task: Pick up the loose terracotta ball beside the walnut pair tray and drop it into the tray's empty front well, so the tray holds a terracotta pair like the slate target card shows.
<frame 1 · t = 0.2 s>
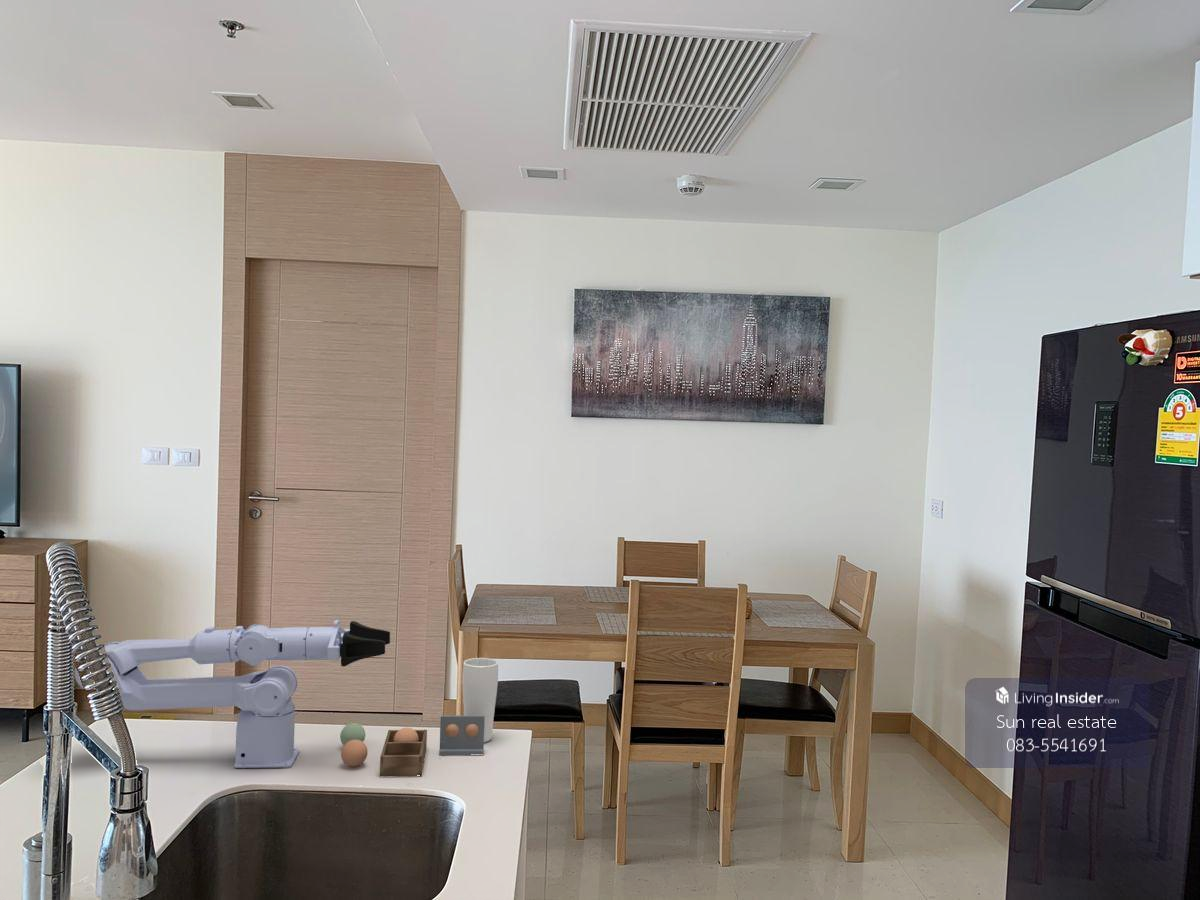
hand: (387, 642, 163), 21 cm above the counter, tool horizontal, fingers open, 7 cm apart
terracotta ball: (354, 753, 160), point 2 cm above the counter
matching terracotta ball: (406, 740, 166), point 3 cm above the counter, touching pair tray
white tall tapered cylinder: (478, 740, 176), on the counter
sage ball: (352, 735, 169), point 2 cm above the counter
target card: (461, 752, 169), on the counter
pair tray: (404, 762, 163), on the counter
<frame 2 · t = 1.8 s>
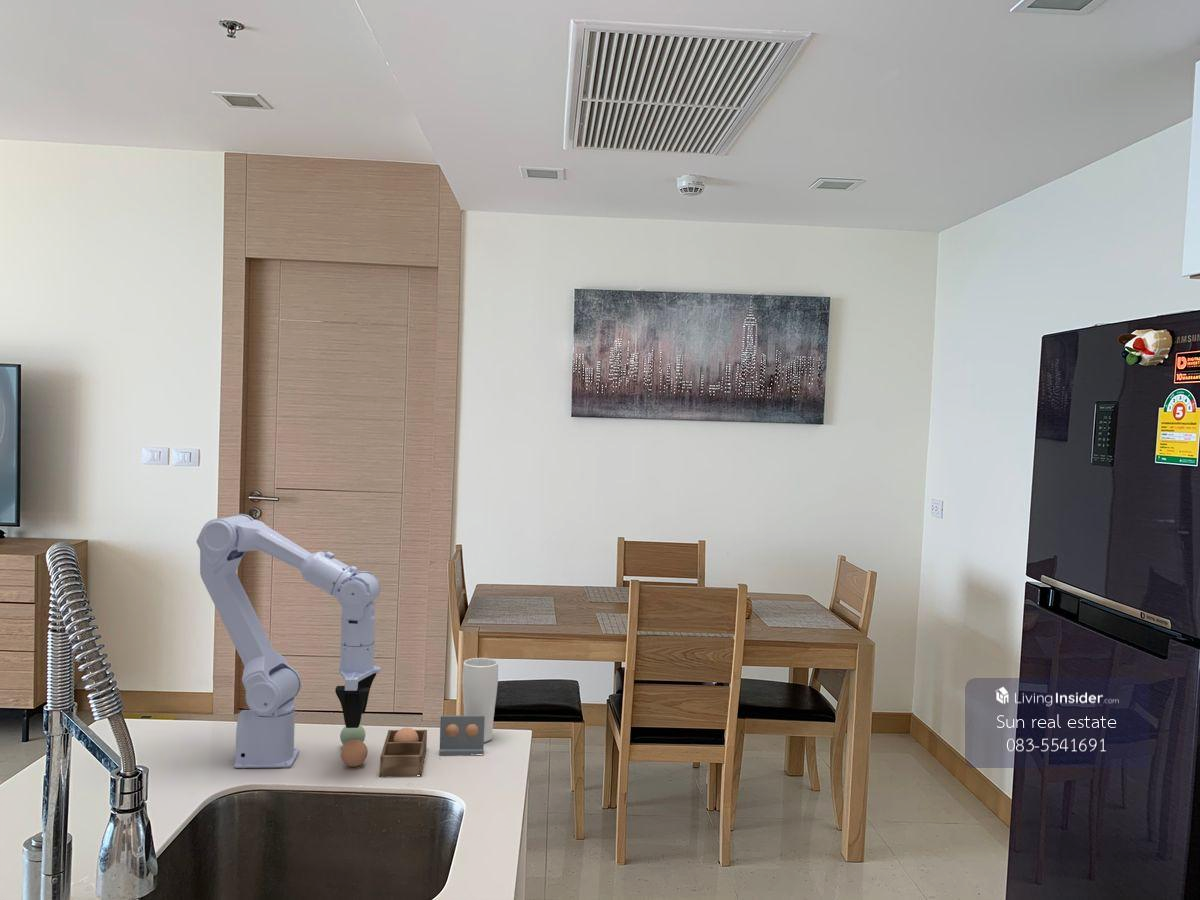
hand: (355, 720, 160), 8 cm above the counter, tool pointing down, fingers open, 7 cm apart
nothing on the counter moved.
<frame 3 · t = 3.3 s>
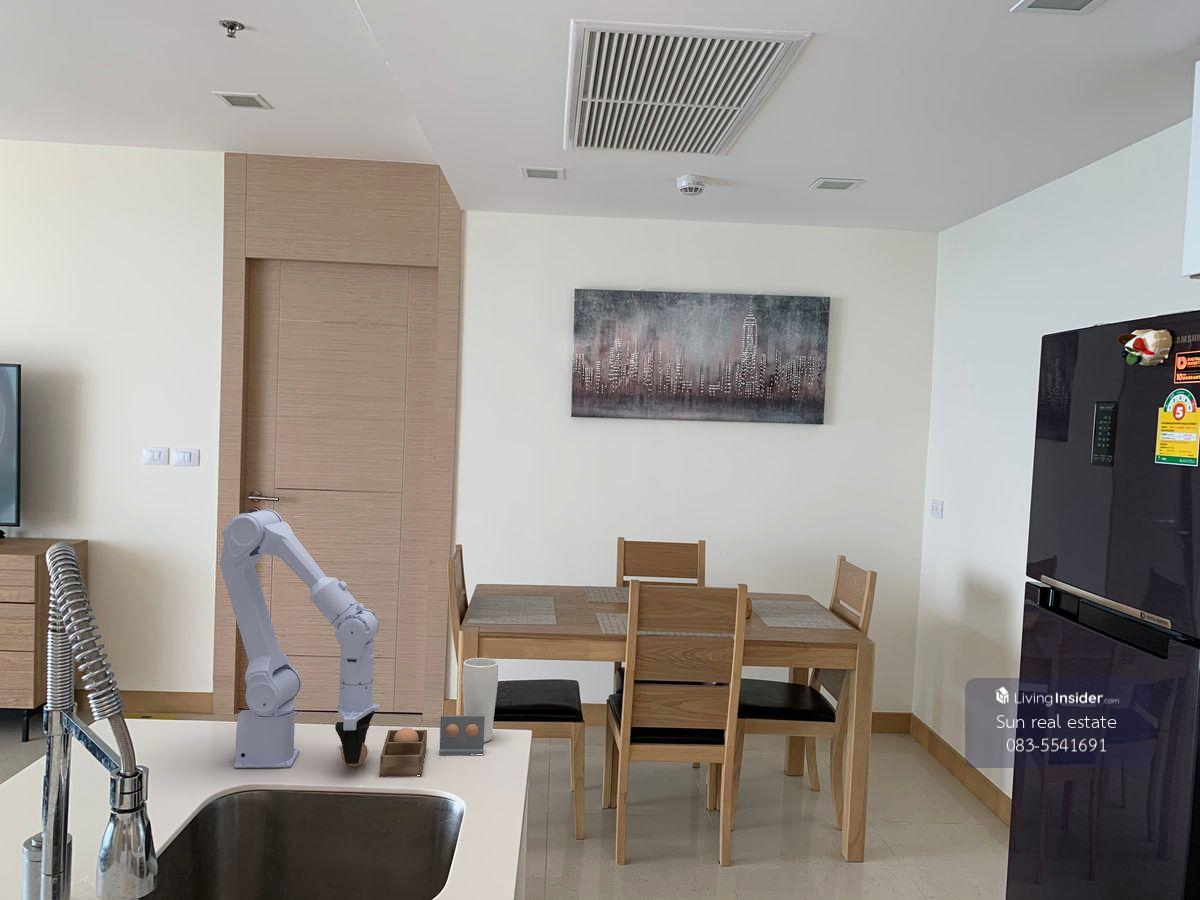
hand: (354, 757, 160), 1 cm above the counter, tool pointing down, fingers closed on terracotta ball, 4 cm apart
terracotta ball: (354, 753, 160), point 2 cm above the counter, touching gripper
everything else where it was.
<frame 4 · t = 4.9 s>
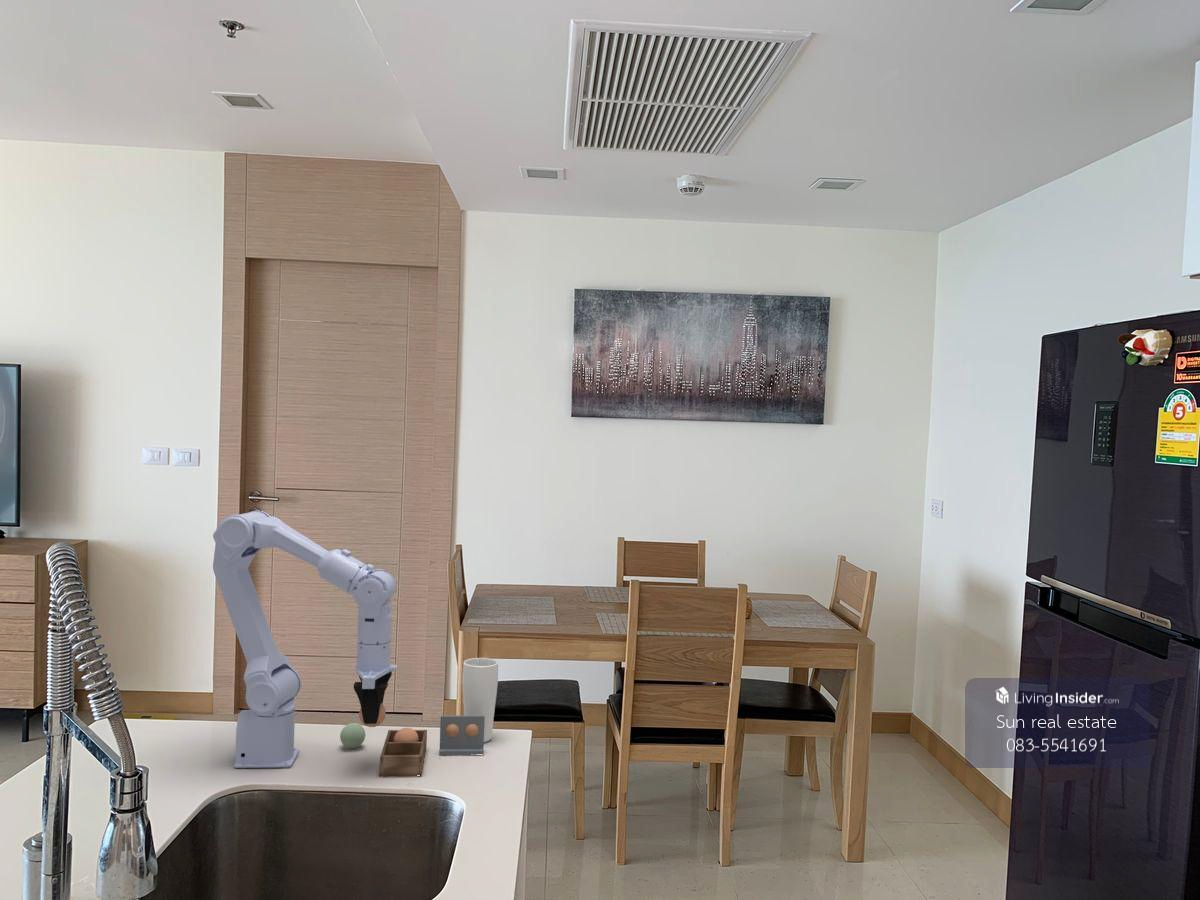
hand: (372, 718, 160), 9 cm above the counter, tool pointing down, fingers closed on terracotta ball, 4 cm apart
terracotta ball: (372, 713, 160), point 9 cm above the counter, touching gripper
everything else where it was.
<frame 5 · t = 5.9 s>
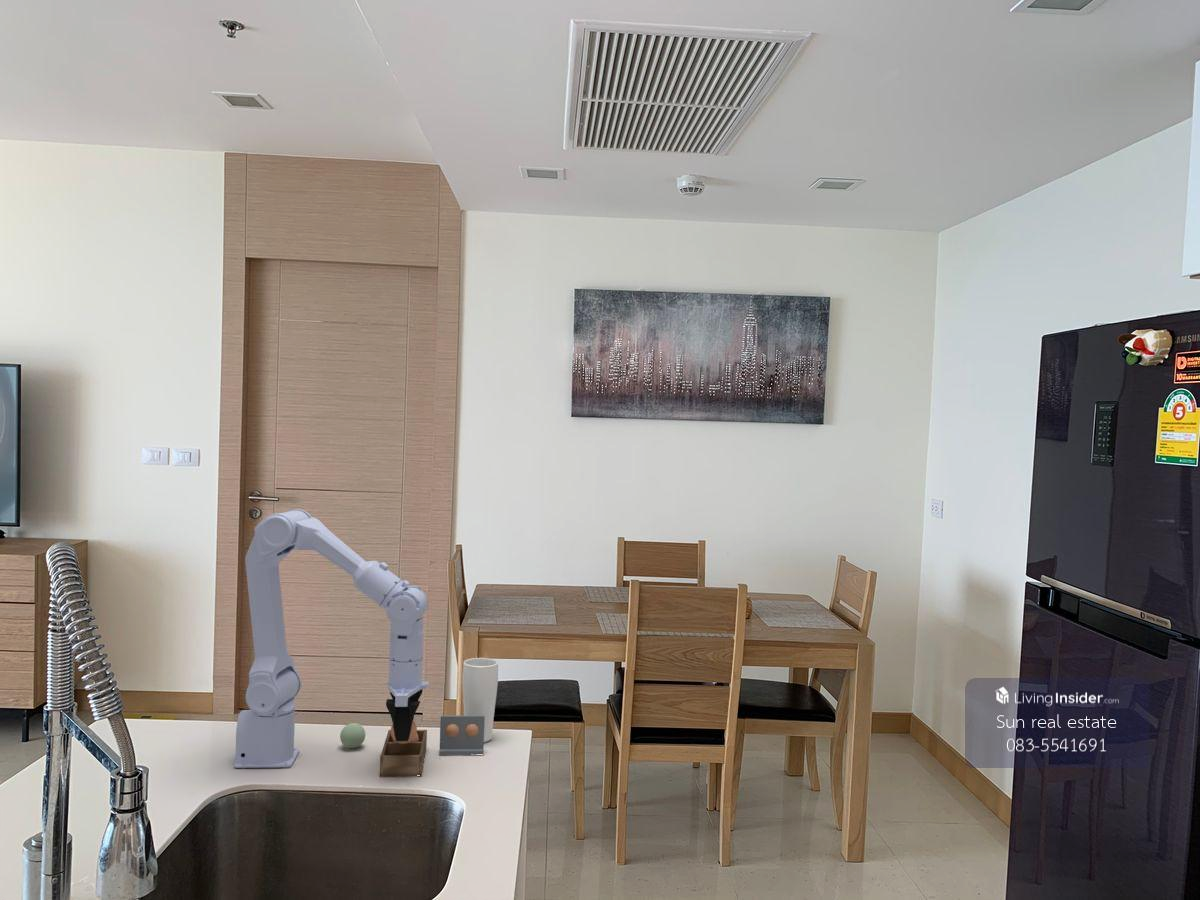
hand: (403, 735, 159), 6 cm above the counter, tool pointing down, fingers closed on terracotta ball, 4 cm apart
terracotta ball: (403, 730, 159), point 7 cm above the counter, touching gripper
everything else where it was.
when the fingers open (6 cm above the counter, at t = 6.5 s): terracotta ball drops 4 cm, resting on pair tray.
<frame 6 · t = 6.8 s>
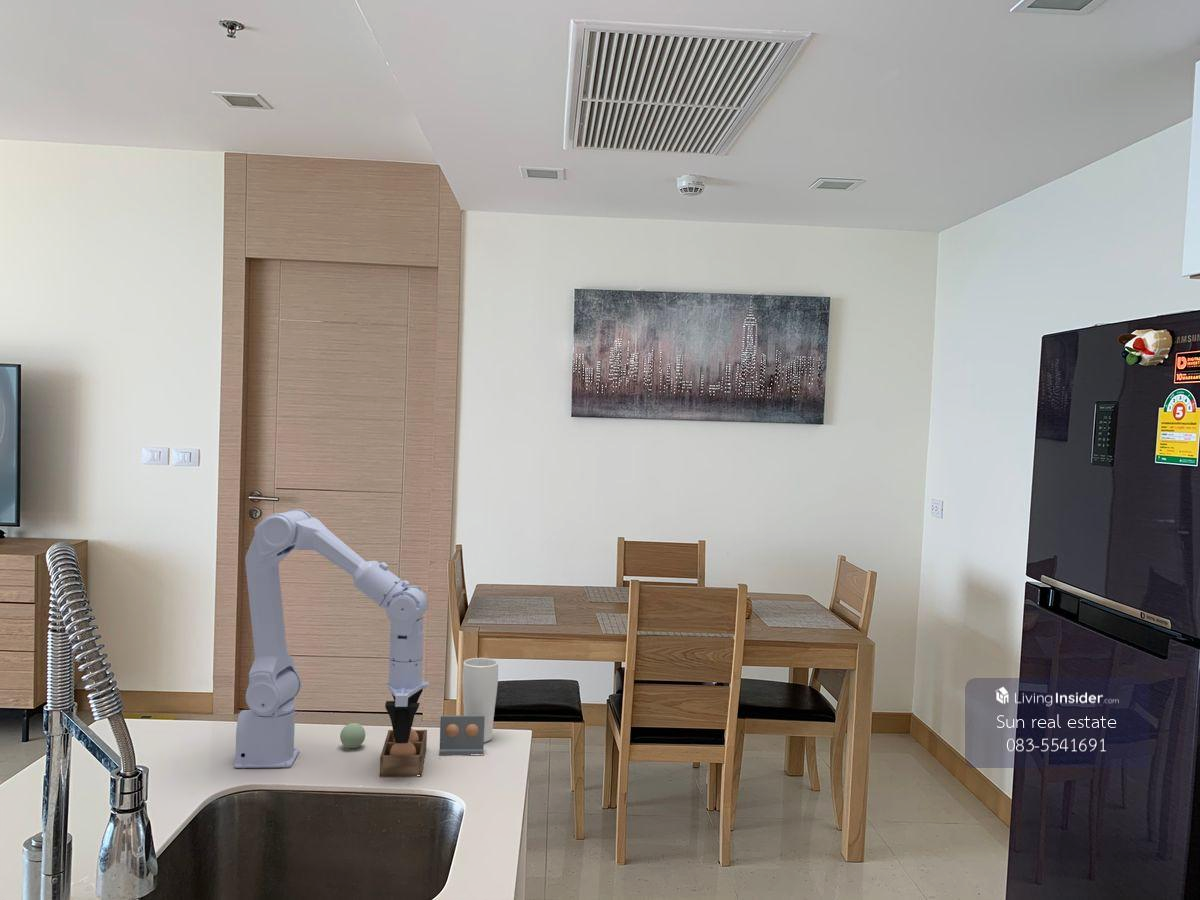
hand: (403, 735, 159), 6 cm above the counter, tool pointing down, fingers open, 7 cm apart
terracotta ball: (403, 753, 160), point 3 cm above the counter, touching pair tray
everything else where it was.
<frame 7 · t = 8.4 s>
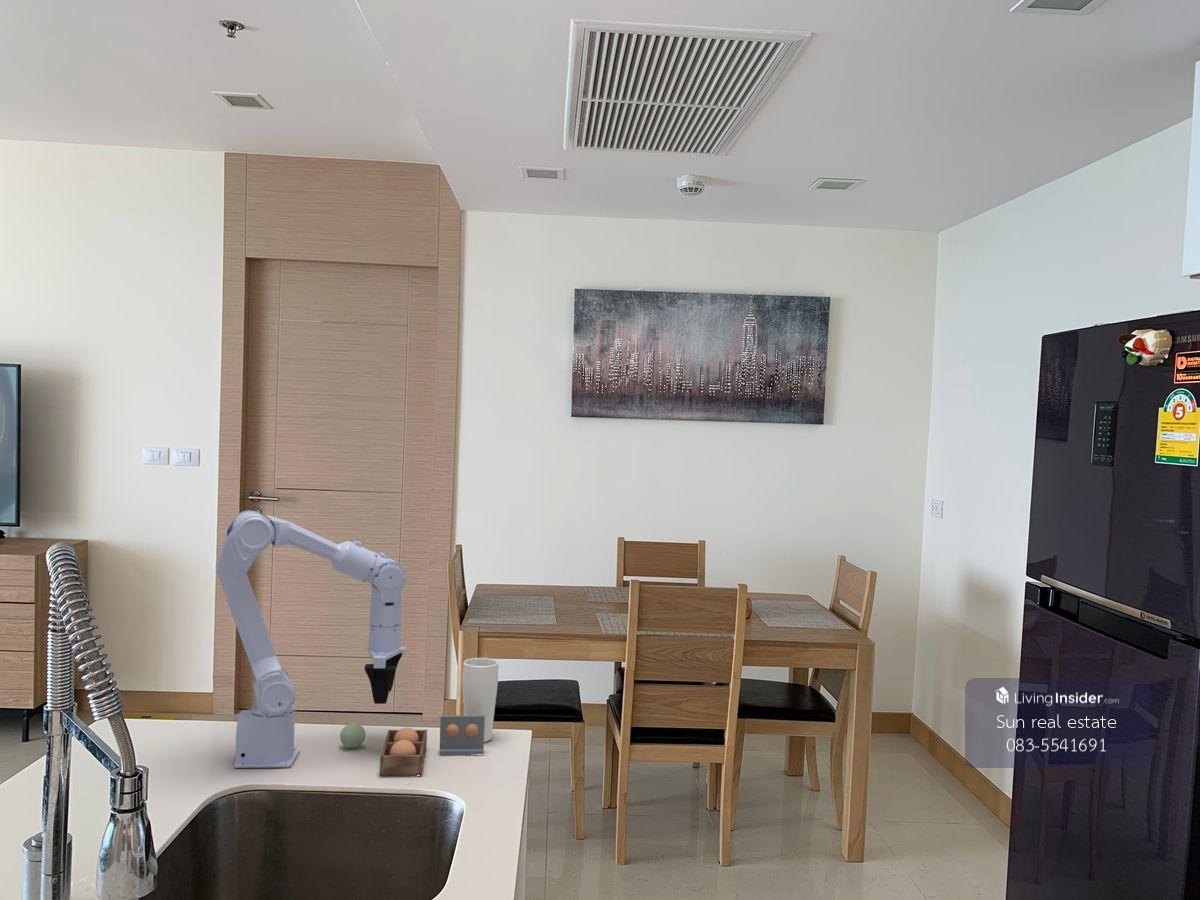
hand: (383, 696, 170), 9 cm above the counter, tool pointing down, fingers open, 7 cm apart
nothing on the counter moved.
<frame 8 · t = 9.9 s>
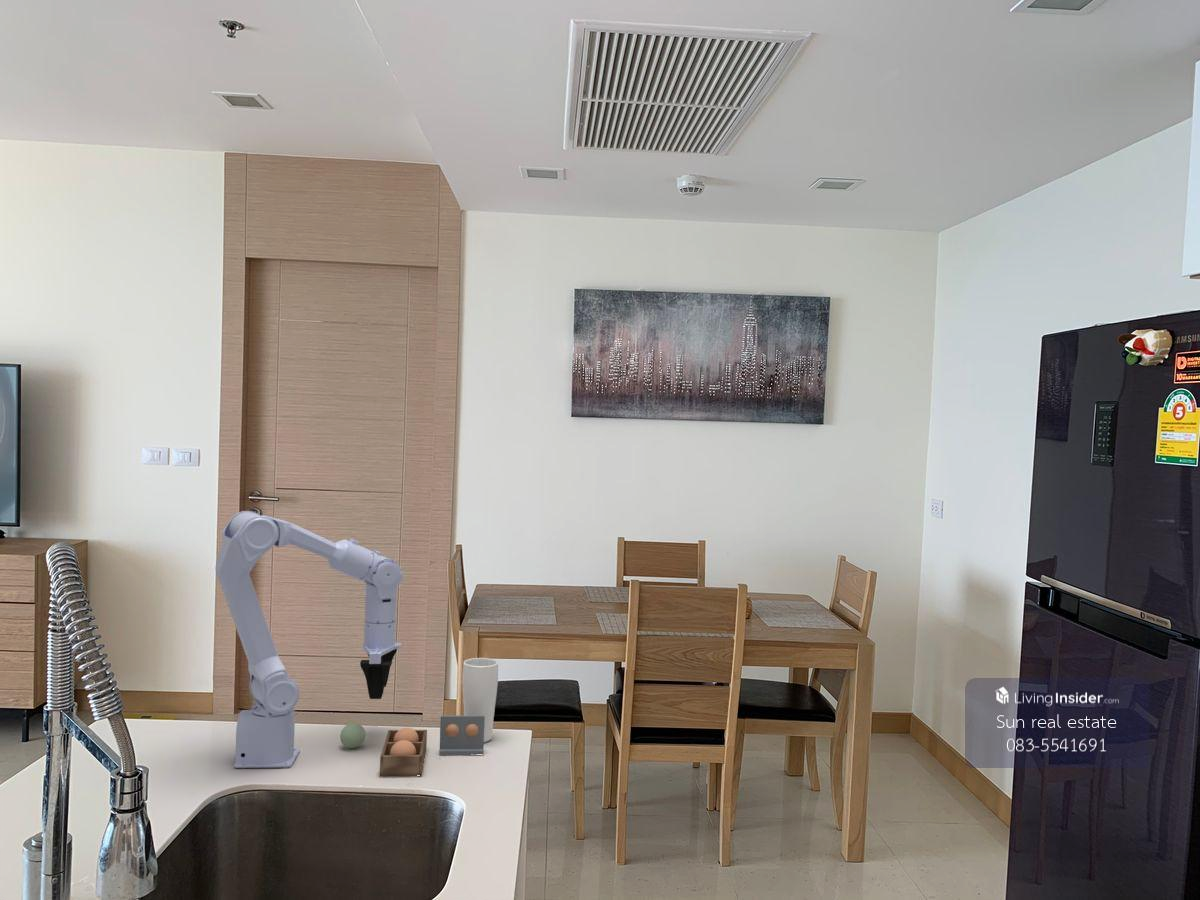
hand: (378, 692, 172), 9 cm above the counter, tool pointing down, fingers open, 7 cm apart
nothing on the counter moved.
at the end: terracotta ball 0.1 cm from the target spot on the pair tray, point 2.7 cm above the pair tray's base; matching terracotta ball 0.0 cm from the target spot on the pair tray, point 2.7 cm above the pair tray's base; the gripper is holding nothing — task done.
